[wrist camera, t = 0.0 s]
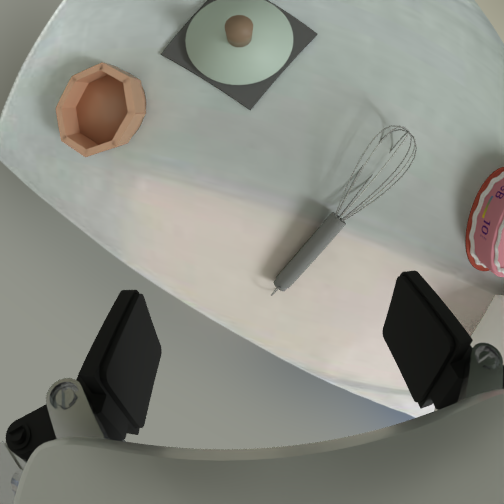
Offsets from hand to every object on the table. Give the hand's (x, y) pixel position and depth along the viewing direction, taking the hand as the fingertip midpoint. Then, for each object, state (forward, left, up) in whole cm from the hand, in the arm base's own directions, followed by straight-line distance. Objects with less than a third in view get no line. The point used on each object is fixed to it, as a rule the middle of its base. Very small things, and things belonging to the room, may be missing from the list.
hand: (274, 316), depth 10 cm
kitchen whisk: (-2, +15, -32) cm, 35 cm away
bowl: (+5, -22, -31) cm, 38 cm away
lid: (-13, -12, -31) cm, 36 cm away
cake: (-27, +48, -32) cm, 64 cm away
